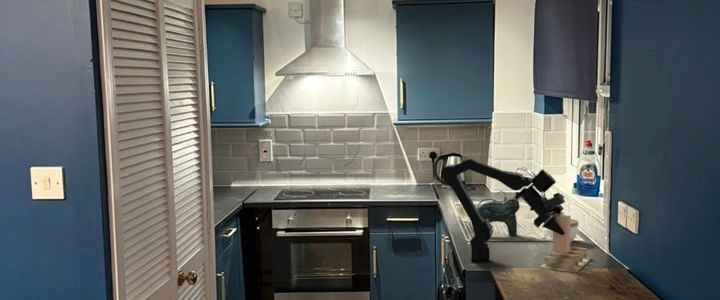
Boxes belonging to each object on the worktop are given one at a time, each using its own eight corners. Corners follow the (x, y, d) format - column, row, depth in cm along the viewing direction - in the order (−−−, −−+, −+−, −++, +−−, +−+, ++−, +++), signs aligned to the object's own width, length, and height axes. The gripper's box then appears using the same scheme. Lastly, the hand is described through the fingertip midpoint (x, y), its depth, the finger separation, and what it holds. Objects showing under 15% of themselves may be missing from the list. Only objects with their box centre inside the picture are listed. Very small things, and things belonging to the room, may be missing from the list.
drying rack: (540, 267, 231) (540, 256, 230) (557, 254, 248) (557, 244, 248) (576, 272, 223) (576, 261, 223) (591, 258, 241) (591, 248, 240)
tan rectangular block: (566, 253, 227) (567, 217, 226) (552, 251, 230) (553, 215, 229) (569, 251, 230) (570, 215, 229) (555, 249, 233) (556, 214, 232)
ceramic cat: (518, 234, 286) (518, 190, 284) (521, 237, 280) (521, 192, 278) (474, 234, 288) (473, 190, 286) (475, 237, 281) (475, 193, 280)
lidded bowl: (581, 240, 270) (581, 215, 269) (573, 247, 259) (573, 220, 259) (552, 237, 277) (551, 212, 276) (543, 243, 266) (542, 217, 265)
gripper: (542, 190, 223) (574, 224, 217) (558, 183, 238) (588, 214, 233) (520, 210, 228) (551, 244, 222) (537, 202, 243) (566, 233, 238)
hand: (565, 233), depth 229 cm, fingers closed on tan rectangular block, 3 cm apart
